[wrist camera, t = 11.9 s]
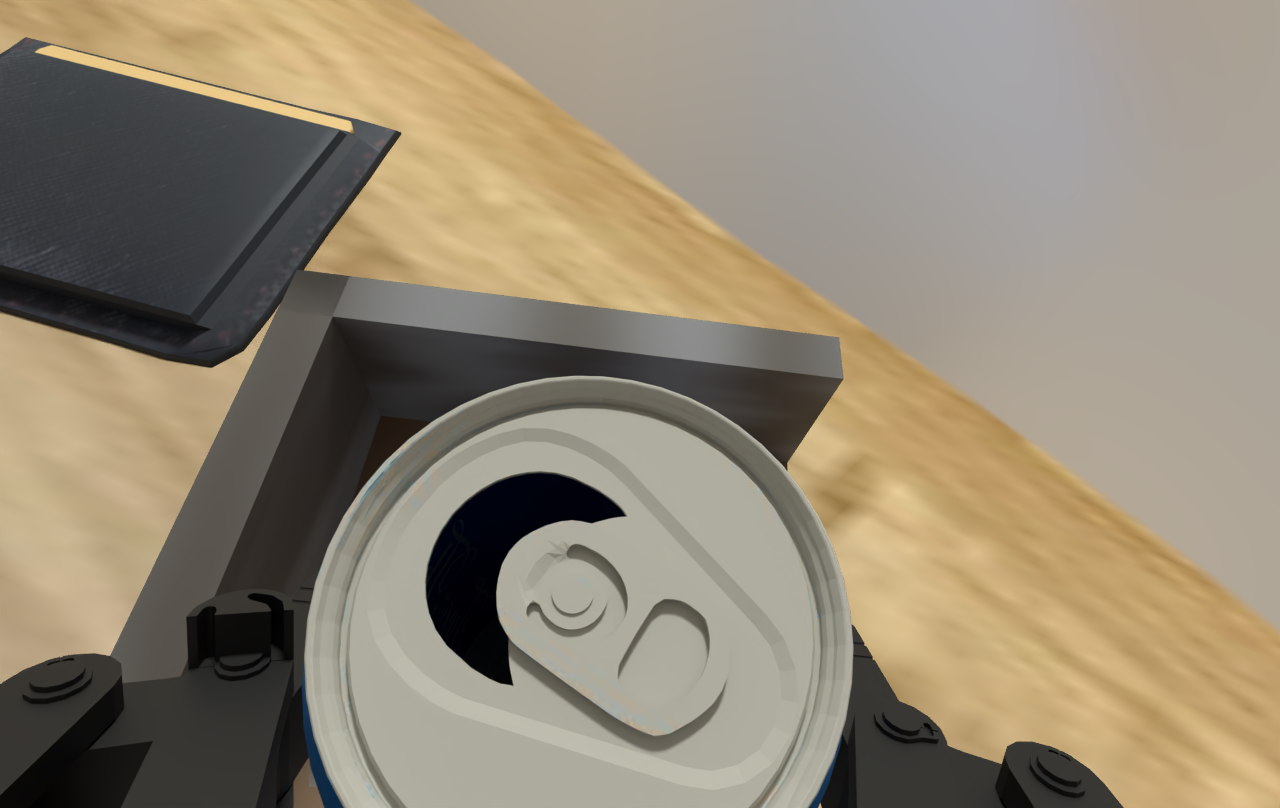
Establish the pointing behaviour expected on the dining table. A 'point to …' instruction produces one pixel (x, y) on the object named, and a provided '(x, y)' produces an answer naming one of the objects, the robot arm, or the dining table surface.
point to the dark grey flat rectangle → (162, 200)
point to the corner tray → (419, 421)
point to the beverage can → (578, 615)
